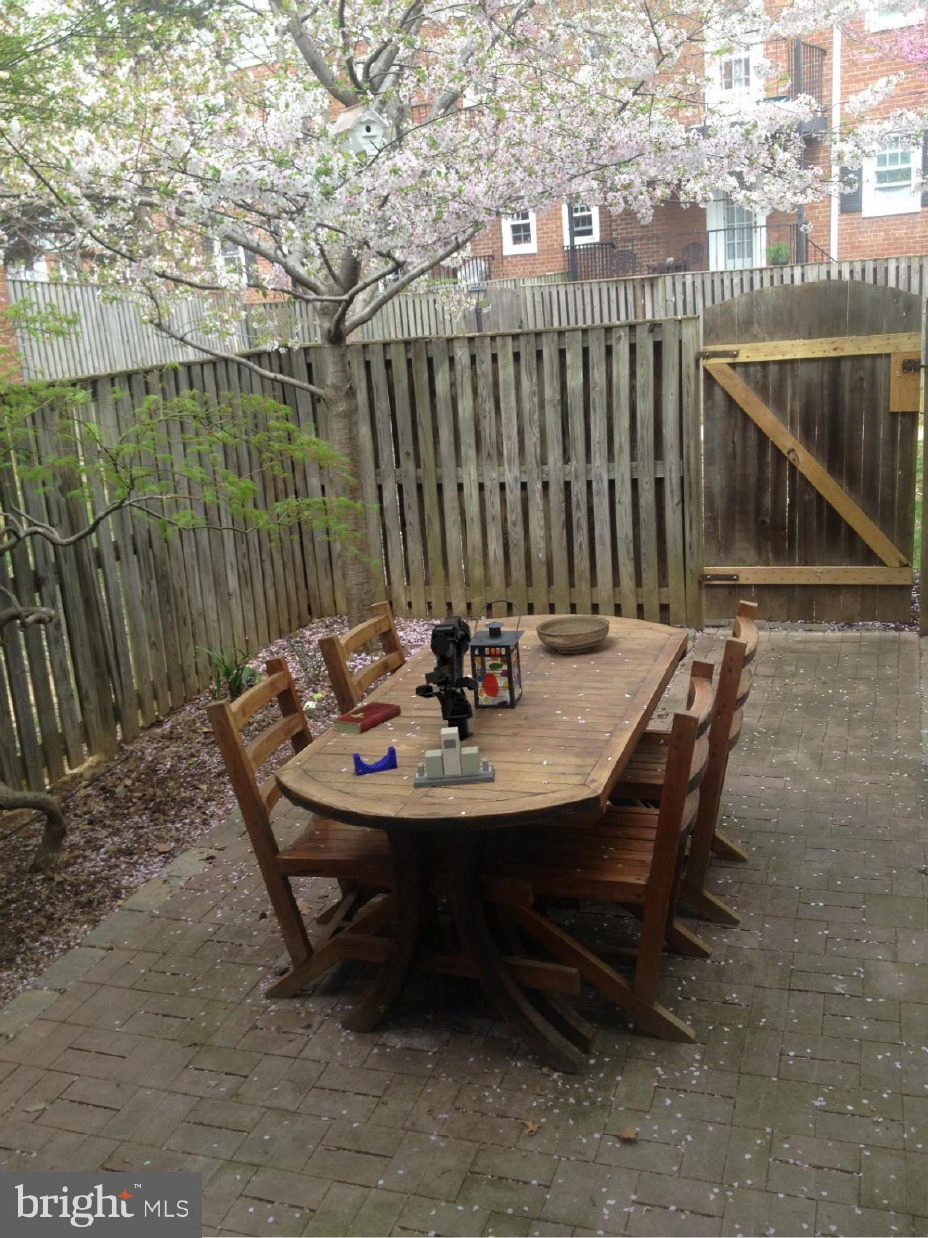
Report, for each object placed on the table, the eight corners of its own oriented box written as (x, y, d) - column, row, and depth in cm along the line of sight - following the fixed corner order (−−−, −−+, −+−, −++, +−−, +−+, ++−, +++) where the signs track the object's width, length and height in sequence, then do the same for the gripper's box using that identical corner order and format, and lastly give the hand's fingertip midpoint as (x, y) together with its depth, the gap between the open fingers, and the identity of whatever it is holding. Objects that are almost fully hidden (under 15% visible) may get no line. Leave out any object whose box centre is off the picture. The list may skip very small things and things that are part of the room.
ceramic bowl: (564, 635, 442) (562, 611, 439) (627, 638, 426) (626, 614, 424) (519, 659, 412) (517, 634, 409) (586, 664, 396) (584, 638, 394)
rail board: (416, 776, 303) (413, 748, 301) (493, 769, 302) (491, 742, 300) (414, 788, 294) (410, 759, 292) (493, 781, 293) (490, 753, 291)
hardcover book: (401, 715, 359) (400, 704, 358) (360, 736, 343) (359, 723, 342) (374, 712, 366) (373, 700, 365) (333, 731, 350) (331, 719, 349)
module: (446, 768, 299) (441, 728, 297) (462, 767, 299) (457, 726, 297) (445, 775, 294) (440, 734, 292) (461, 774, 294) (456, 733, 291)
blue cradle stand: (394, 763, 315) (391, 744, 314) (397, 768, 311) (395, 749, 309) (354, 771, 312) (351, 752, 311) (357, 776, 308) (354, 757, 306)
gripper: (404, 663, 314) (404, 715, 309) (457, 653, 305) (458, 706, 300) (426, 672, 323) (426, 722, 318) (478, 661, 313) (479, 713, 309)
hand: (446, 716), depth 311 cm, fingers closed
